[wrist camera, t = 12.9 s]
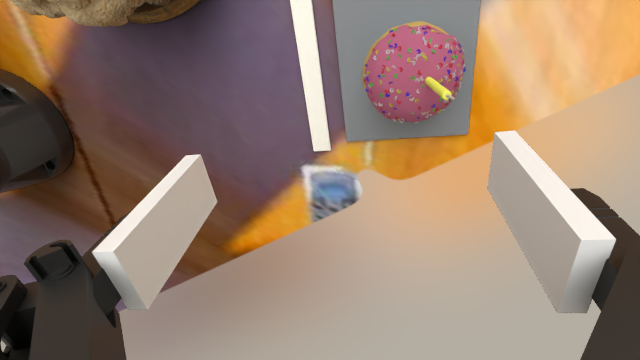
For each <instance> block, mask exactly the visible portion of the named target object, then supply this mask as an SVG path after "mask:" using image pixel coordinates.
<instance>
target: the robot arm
mask: <svg viewBox="0 0 640 360" xmlns="http://www.w3.org/2000/svg"><path fill="white" fill-rule="evenodd" d="M73 150H74V149H73V141H72V137H71V134H70V131H69V128H68V126H67V124H66V122H65V120H64V119H63V117H62V116H61V114H60V113H59V111H58V110H57V109H56V107H55V106H54V105H53V104H52V103H51V101H50V100H49V99H48V98H47V97H46V96H45V95H44V94H43V93H41V92H40V91H39V90H38V89H37V88H35V87H34V86H33V85H31V84H30V83H28V82H27V81H25V80H24V79H22V78H20V77H18V76H16V75H14V74H12V73H10V72H7V71H4V70H1V69H0V193H2V192H6V191H10V190H14V189H18V188H22V187H26V186H30V185H34V184H38V183H42V182H45V181H48V180H50V179H52V178H53V177H55V176H57V175H58V174H60V173H61V172H63V171H64V170H65V169H67V167H68V166H69V165H70V163H71V161H72V158H73ZM487 188H488V190H489V192H490V194H491V196H492V198H493V199H494V201H495V203H496V205H497V207H498V208H499V210H500V212H501V214H502V215H503V217H504V219H505V221H506V223H507V224H508V226H509V228H510V230H511V232H512V233H513V235H514V237H515V239H516V240H517V242H518V244H519V246H520V248H521V249H522V251H523V253H524V255H525V257H526V258H527V260H528V262H529V264H530V266H531V267H532V269H533V271H534V273H535V274H536V276H537V278H538V279H539V282H540V283H541V285H542V287H543V289H544V291H545V292H546V294H547V296H548V298H549V299H550V301H551V303H552V305H553V307H554V308H555V310H556V312H557V313H587V311H588V309H589V306H590V304H591V301H592V299H593V300H594V301H595V303H596V304H597V306H598V307H599V308H600V310H601V313H600V315H599V318H598V320H597V323H596V325H595V327H594V329H593V332H592V334H591V336H590V339H589V341H588V343H587V346H586V348H585V351H584V353H583V355H582V357H581V360H640V236H639V235H638V234H637V233H636V232H635V231H634V230H633V229H632V228H631V227H630V226H629V225H628V224H627V223H626V222H625V221H624V220H623V219H622V218H619V217H618V214H617V213H616V212H615V211H613V210H612V209H610V207H609V206H608V205H607V204H606V203H605V202H604V201H603V200H602V199H601V198H600V197H599V196H597V195H595V194H593V193H591V192H589V191H587V190H586V189H583V188H579V189H569V188H568V187H567V186H566V185H565V184H564V183H563V182H562V181H561V179H560V178H559V177H558V176H557V175H556V174H555V173H554V172H553V171H552V170H551V169H550V168H549V167H548V166H547V165H546V163H545V162H544V161H543V160H542V159H541V158H540V157H539V156H538V155H537V154H536V153H535V152H534V151H533V150H532V148H530V146H529V145H528V144H527V143H526V142H525V141H524V140H523V139H522V138H521V137H520V136H519V135H518V133H517V132H516V131H505V132H495V135H494V142H493V150H492V157H491V165H490V172H489V179H488V187H487ZM216 203H217V200H216V197H215V194H214V191H213V188H212V185H211V183H210V180H209V177H208V174H207V171H206V168H205V166H204V163H203V160H202V157H201V154H200V155H187V156H185V157H184V158H183V159H182V160H181V161H180V162H179V163H178V164H177V165H176V166H175V167H174V168H173V169H172V170H171V171H170V172H169V173H168V174H167V175H166V177H165V178H164V179H163V180H162V181H161V182H160V183H159V184H158V185H157V186H156V187H155V188H154V189H153V190H152V191H151V192H150V193H149V194H148V195H147V196H146V197H145V198H144V199H143V200H142V201H141V202H140V203H139V204H138V205H137V206H136V207H135V208H134V209H133V210H132V211H131V212H129V213H128V214H126V215H125V216H123V217H122V218H120V219H119V220H118V221H117V222H116V223H115V224H114V225H113V226H112V227H111V229H109V230H108V231H107V232H106V233H105V234H104V236H102V237H101V238H100V239H99V240H98V241H97V242H96V243H95V244H94V245H93V246H92V247H91V248H90V249H89V250H88V251H87V252H86V253H85V254H84V255H83V256H82V257H81V256H80V254H79V253H78V251H77V250H76V248H75V247H74V245H73V244H72V242H71V241H69V240H59V241H55V242H52V243H49V244H47V245H45V246H43V247H41V248H39V249H38V250H36V251H35V252H33V253H32V254H31V255H30V256H29V257H28V258H27V259H26V261H25V263H24V265H25V266H26V267H27V268H28V270H29V271H30V272H31V273H32V275H33V276H34V277H35V278H36V280H37V281H36V282H32V283H28V284H24V285H23V284H22V283H21V281H20V280H19V279H18V278H17V277H16V275H6V276H2V277H0V342H1V340H2V341H3V342H4V343H5V344H6V345H7V346H6V348H5V350H4V352H2V350H1V345H0V360H126V354H125V348H124V342H123V335H122V329H121V323H120V316H119V313H118V311H117V309H116V308H115V306H116V305H117V303H118V302H119V301H120V299H122V300H123V302H124V303H125V305H126V307H127V308H128V309H129V310H148V309H149V307H150V306H151V304H152V303H153V301H154V299H155V298H156V296H157V295H158V293H159V292H160V290H161V289H162V287H163V285H164V284H165V282H166V281H167V279H168V278H169V276H170V275H171V273H172V271H173V270H174V268H175V267H176V265H177V264H178V262H179V261H180V259H181V257H182V256H183V254H184V253H185V251H186V250H187V248H188V247H189V245H190V243H191V242H192V240H193V239H194V237H195V236H196V234H197V233H198V231H199V229H200V228H201V226H202V225H203V223H204V222H205V220H206V219H207V217H208V215H209V214H210V212H211V211H212V209H213V208H214V206H215V205H216Z"/></svg>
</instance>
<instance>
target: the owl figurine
mask: <svg viewBox="0 0 640 360" xmlns="http://www.w3.org/2000/svg"><path fill="white" fill-rule="evenodd" d="M11 1H12V2H13V3H14V5H16V6H18V7H19V8H21V9H23V10H24V11H26V12H27V13H29V14H30V15H45V16H47V17H49V18H60V17H62V16H67V17H68V19H70V20H72V21H73V22H75V23H78V24H80V25H89V26H102V27H103V26H104V27H108V26H109V25H111V26H121V25H124V24H126V23H127V22H132V23H139V24H140V23H142V24H148V23H157V22H162V21H167V20H169V19H172V18H175V17H177V16H179V15H181V14H183V13H185V12H186V11H188V10H190V9H191V8H192V7H194V6H195V5H197V3H199V2H201V1H202V0H11Z"/></svg>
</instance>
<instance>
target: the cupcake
mask: <svg viewBox="0 0 640 360" xmlns="http://www.w3.org/2000/svg"><path fill="white" fill-rule="evenodd" d="M464 66H465V64H464V49H462V47H461V45H460V43H459V41H458V40H457V39H456V38H455V37H454V36H452V35H449V34H448V33H447V32H445V31H444V30H443V29H441V28H440V27H437V26H435V25H432V24H430V23H427V22H424V21H415V22H410V23H406V24H403V25H400V26H395V27H392V28H390V29H389V30H388V31H387V32H385V33H384V34H383V35H382V36H381V37H380V38H379V39H378V40H377V41H375V42H374V44H373V45H372V46H371V47H370V49H369V51H368V54H367V56H366V59H365V61H364V64H363V68H362V81H363V86H364V89H365V92H366V94H367V96H368V97H369V99H370V101H371V103H372V104H373V106H374V107H375V108H376V110H377V111H378V112H379V113H380V114H381V115H382V116H384V117H385V118H387V119H391V120H394V121H395V122H396V121H400V123H403V122H415V124H416V123H417V122H419V121H423V120H427V119H428V118H430V117H432V116H434V115H436V114H437V113H440V112H441V111H443V110H445V108H446V107H447V106H448V105H449V104H450V103H451V102H452V100H454V99H455V96H456V94H457V92H458V90H459V88H460V87H461V84H462V79H463V73H464V72H465V71H466V69H465V67H464ZM464 69H465V70H464Z"/></svg>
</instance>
